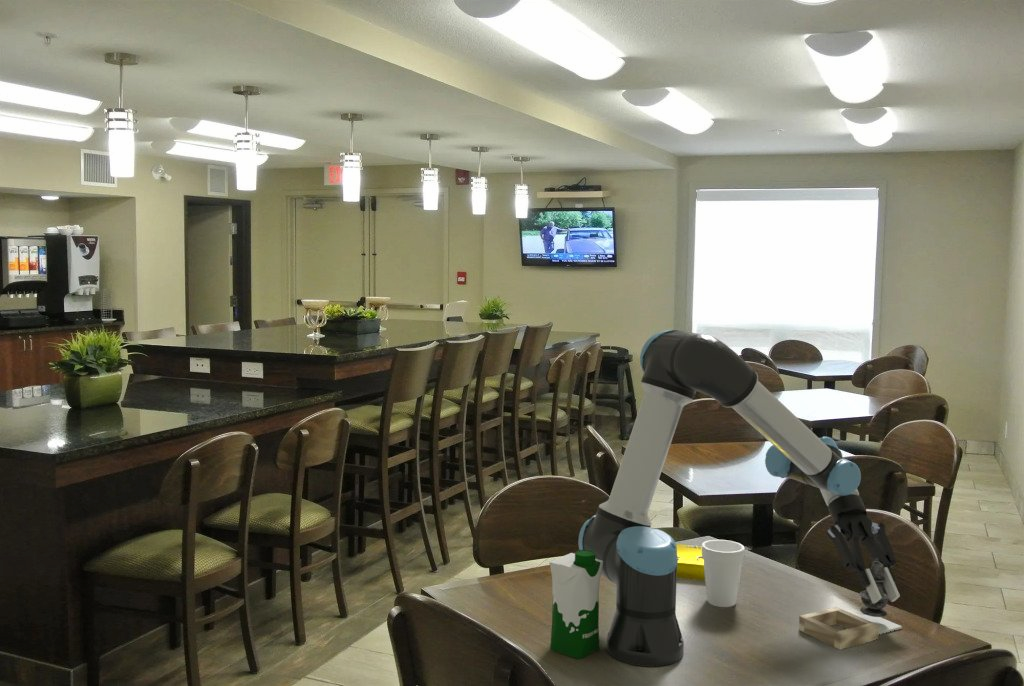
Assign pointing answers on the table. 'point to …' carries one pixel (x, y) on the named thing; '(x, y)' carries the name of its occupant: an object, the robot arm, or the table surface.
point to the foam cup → (722, 571)
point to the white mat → (882, 624)
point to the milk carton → (575, 603)
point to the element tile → (690, 562)
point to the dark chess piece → (877, 574)
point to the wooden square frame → (853, 635)
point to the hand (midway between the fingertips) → (886, 599)
